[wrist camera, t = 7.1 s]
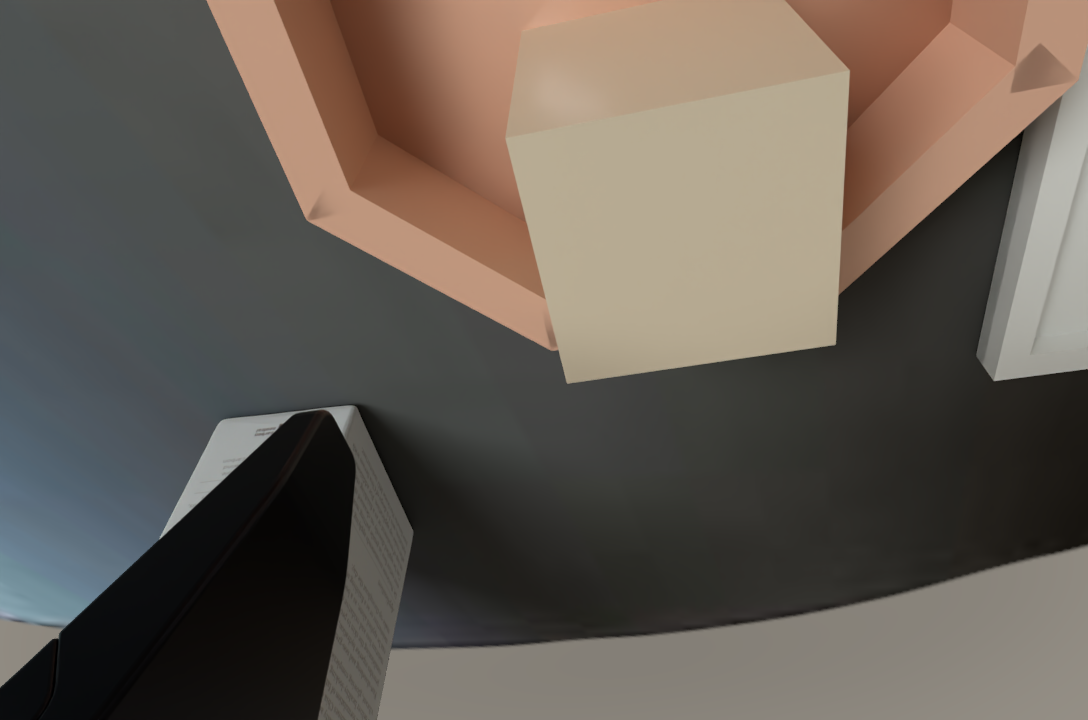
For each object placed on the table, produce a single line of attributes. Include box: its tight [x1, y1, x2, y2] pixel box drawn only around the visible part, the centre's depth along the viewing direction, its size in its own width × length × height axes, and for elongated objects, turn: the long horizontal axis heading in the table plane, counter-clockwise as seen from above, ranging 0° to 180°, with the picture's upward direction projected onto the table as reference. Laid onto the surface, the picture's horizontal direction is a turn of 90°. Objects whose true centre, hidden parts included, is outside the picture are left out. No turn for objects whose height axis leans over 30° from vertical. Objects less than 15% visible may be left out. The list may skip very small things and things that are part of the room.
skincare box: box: [160, 405, 414, 720], centre depth 18 cm, size 6×4×12 cm
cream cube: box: [505, 0, 850, 384], centre depth 13 cm, size 4×4×5 cm
